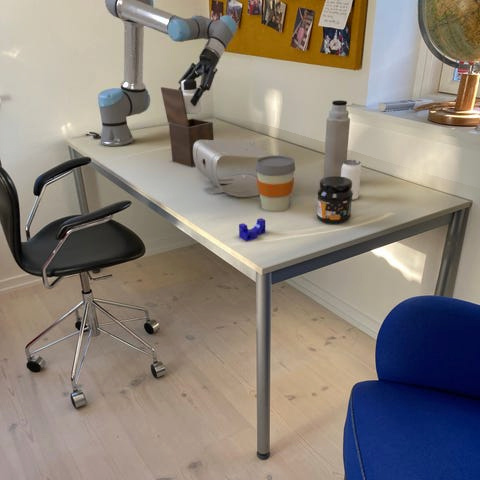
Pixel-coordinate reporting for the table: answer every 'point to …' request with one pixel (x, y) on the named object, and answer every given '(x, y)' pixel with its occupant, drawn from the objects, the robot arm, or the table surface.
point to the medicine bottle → (190, 96)
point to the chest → (188, 139)
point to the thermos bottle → (336, 139)
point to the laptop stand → (218, 149)
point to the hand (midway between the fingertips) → (184, 102)
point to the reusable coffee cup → (275, 181)
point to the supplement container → (334, 200)
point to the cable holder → (252, 230)
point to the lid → (175, 106)
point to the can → (352, 175)
